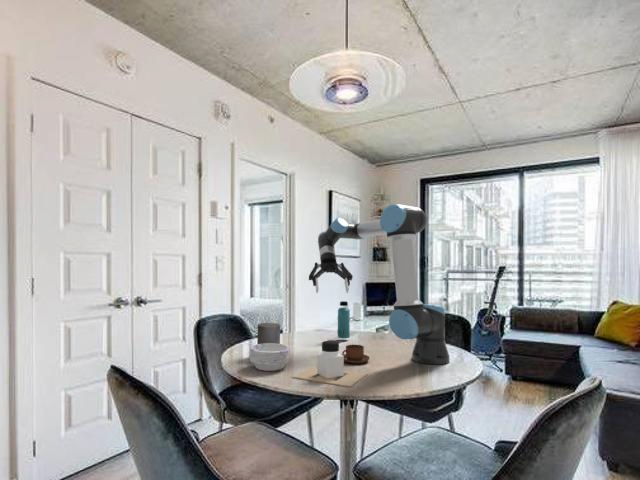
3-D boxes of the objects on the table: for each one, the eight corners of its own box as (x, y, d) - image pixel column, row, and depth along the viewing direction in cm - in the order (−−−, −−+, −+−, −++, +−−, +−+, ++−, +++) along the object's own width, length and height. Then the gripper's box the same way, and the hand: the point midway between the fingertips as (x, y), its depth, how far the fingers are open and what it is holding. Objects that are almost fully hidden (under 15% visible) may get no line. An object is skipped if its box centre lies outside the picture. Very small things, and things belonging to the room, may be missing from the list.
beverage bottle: (349, 338, 207) (349, 300, 208) (350, 341, 201) (350, 302, 202) (336, 338, 207) (337, 300, 208) (337, 341, 201) (338, 301, 202)
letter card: (367, 374, 142) (367, 373, 142) (350, 387, 128) (350, 386, 128) (313, 366, 152) (313, 365, 152) (292, 377, 138) (292, 376, 138)
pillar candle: (252, 356, 168) (253, 321, 169) (271, 353, 174) (272, 318, 175) (265, 361, 161) (265, 323, 161) (284, 357, 167) (285, 321, 168)
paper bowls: (291, 373, 144) (291, 350, 144) (248, 374, 142) (249, 351, 142) (288, 362, 159) (288, 342, 159) (250, 363, 157) (250, 343, 157)
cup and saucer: (359, 367, 153) (359, 351, 153) (334, 362, 161) (334, 346, 161) (375, 361, 162) (375, 346, 163) (350, 356, 170) (351, 342, 170)
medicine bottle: (344, 376, 139) (344, 341, 140) (326, 379, 135) (326, 343, 136) (333, 371, 145) (333, 338, 146) (316, 373, 142) (316, 339, 142)
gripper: (351, 262, 195) (358, 296, 180) (301, 262, 192) (304, 296, 176) (354, 251, 190) (361, 285, 175) (302, 251, 187) (305, 285, 171)
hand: (332, 290), depth 175 cm, fingers open, 13 cm apart
